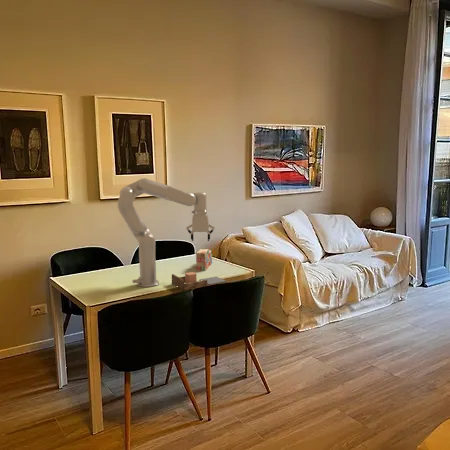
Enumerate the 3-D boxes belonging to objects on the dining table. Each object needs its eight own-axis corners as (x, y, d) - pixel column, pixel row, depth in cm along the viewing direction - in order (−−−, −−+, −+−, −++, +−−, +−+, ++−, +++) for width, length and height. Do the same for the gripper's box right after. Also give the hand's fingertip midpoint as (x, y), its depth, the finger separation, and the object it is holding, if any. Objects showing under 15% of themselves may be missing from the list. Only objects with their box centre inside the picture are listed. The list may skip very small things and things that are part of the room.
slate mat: (209, 284, 275) (209, 284, 275) (199, 280, 285) (199, 279, 285) (226, 281, 281) (226, 280, 281) (216, 277, 291) (216, 276, 291)
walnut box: (182, 290, 264) (182, 280, 263) (171, 284, 277) (171, 274, 276) (207, 285, 273) (207, 276, 272) (195, 279, 285) (195, 270, 284)
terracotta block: (189, 286, 272) (188, 275, 271) (185, 284, 276) (185, 273, 275) (196, 285, 274) (196, 273, 273) (192, 283, 279) (192, 271, 278)
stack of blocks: (203, 262, 328) (203, 245, 326) (212, 263, 327) (211, 246, 325) (196, 270, 307) (195, 252, 305) (205, 271, 306) (205, 252, 304)
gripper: (185, 213, 276) (185, 241, 278) (214, 213, 276) (214, 241, 279) (186, 212, 283) (186, 239, 286) (214, 212, 283) (214, 239, 286)
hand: (200, 240), depth 282 cm, fingers open, 9 cm apart
